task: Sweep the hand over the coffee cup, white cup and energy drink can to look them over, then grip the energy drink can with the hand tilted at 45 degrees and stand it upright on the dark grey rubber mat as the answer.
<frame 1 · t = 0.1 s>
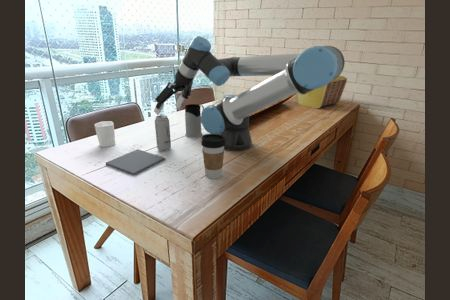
hand: (167, 109, 124), 15 cm above the table, tool tilted 35°, fingers open, 13 cm apart
picnic basket: (317, 104, 203), on the table
energy drink can: (164, 149, 121), on the table
white cup: (107, 144, 126), on the table
coffee cup: (213, 175, 99), on the table
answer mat: (136, 162, 108), on the table
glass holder: (196, 133, 141), on the table
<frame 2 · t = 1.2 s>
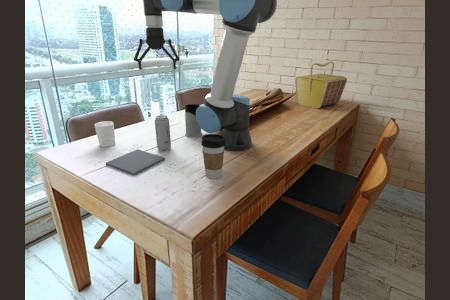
hand: (158, 76, 127), 29 cm above the table, tool pointing down, fingers open, 13 cm apart
nothing on the table moved.
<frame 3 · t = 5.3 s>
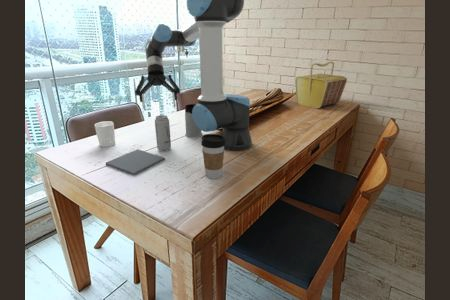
hand: (159, 106, 123), 17 cm above the table, tool tilted 45°, fingers open, 13 cm apart
nothing on the table moved.
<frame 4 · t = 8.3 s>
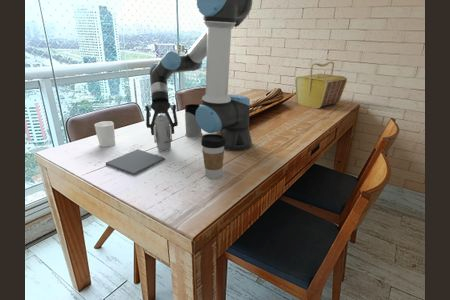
hand: (163, 140, 116), 5 cm above the table, tool tilted 45°, fingers closed on energy drink can, 6 cm apart
energy drink can: (164, 149, 121), on the table, touching gripper
everything else where it was.
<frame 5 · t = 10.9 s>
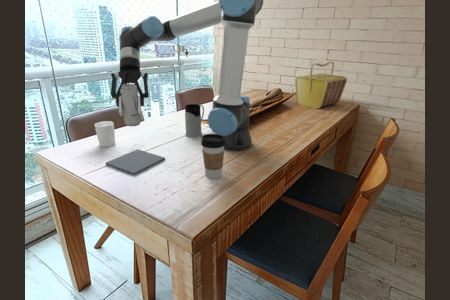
hand: (130, 113, 99), 20 cm above the table, tool tilted 45°, fingers closed on energy drink can, 6 cm apart
energy drink can: (133, 124, 105), point 15 cm above the table, touching gripper
everything else where it was.
when the fingers open (8 cm above the table, at t = 13.8 s): energy drink can drops 1 cm, resting on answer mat.
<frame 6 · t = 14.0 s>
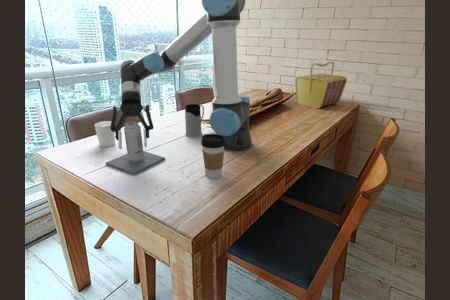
hand: (133, 146, 102), 8 cm above the table, tool tilted 45°, fingers open, 8 cm apart
energy drink can: (136, 160, 108), point 1 cm above the table, touching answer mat
everything else where it was.
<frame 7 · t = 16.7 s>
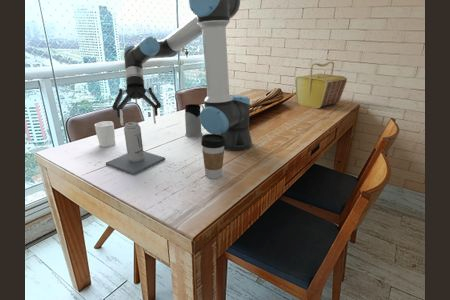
hand: (138, 123, 117), 12 cm above the table, tool tilted 40°, fingers open, 13 cm apart
nothing on the table moved.
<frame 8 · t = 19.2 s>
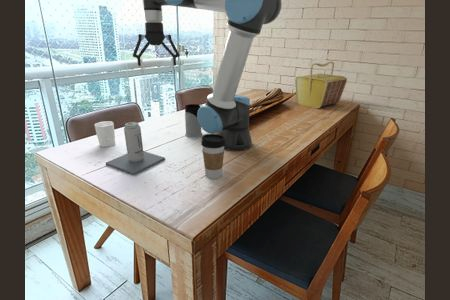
hand: (158, 73, 124), 31 cm above the table, tool pointing down, fingers open, 13 cm apart
nothing on the table moved.
at the end: energy drink can inside the target area on the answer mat (0.2 cm from its centre), point 0.8 cm above the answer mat's base; energy drink can tilted 0°; the gripper is holding nothing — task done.
